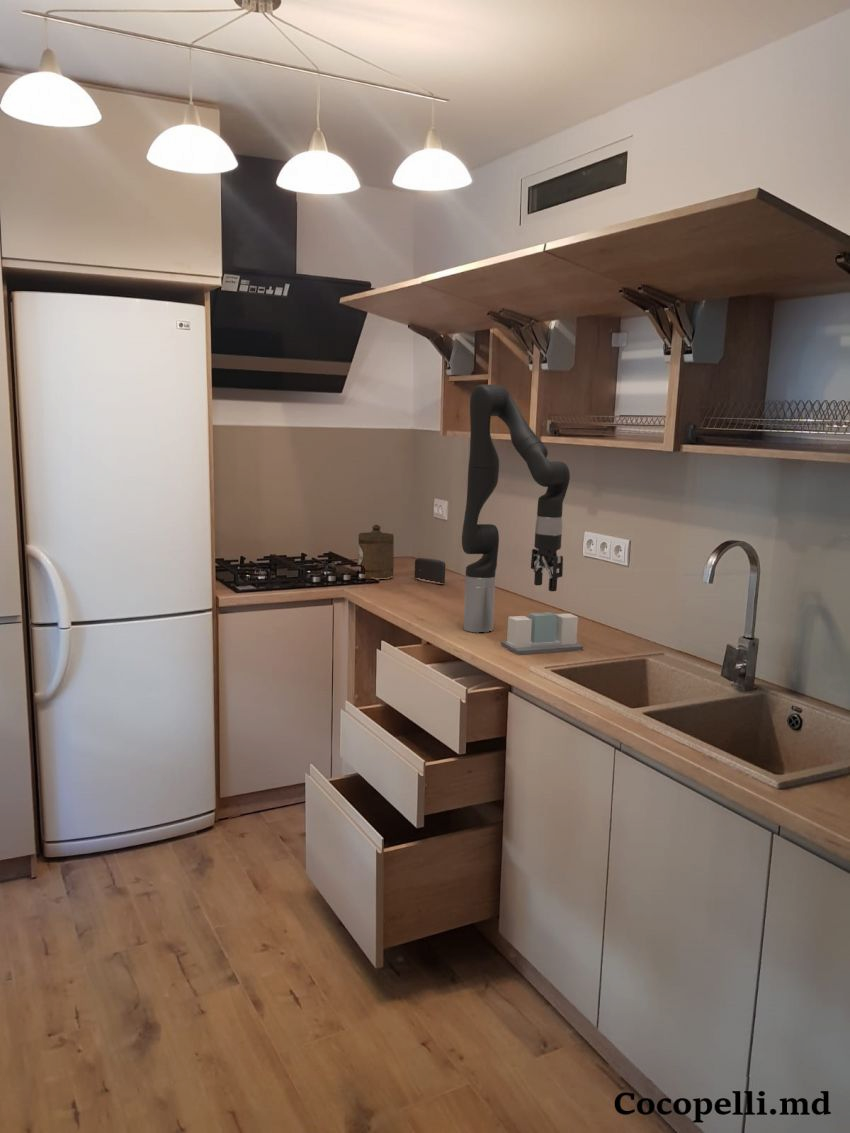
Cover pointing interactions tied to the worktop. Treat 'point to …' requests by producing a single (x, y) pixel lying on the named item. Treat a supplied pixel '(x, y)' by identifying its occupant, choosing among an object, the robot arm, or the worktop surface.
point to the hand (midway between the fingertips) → (545, 588)
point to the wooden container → (376, 553)
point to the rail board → (564, 642)
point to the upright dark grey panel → (430, 569)
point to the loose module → (543, 627)
